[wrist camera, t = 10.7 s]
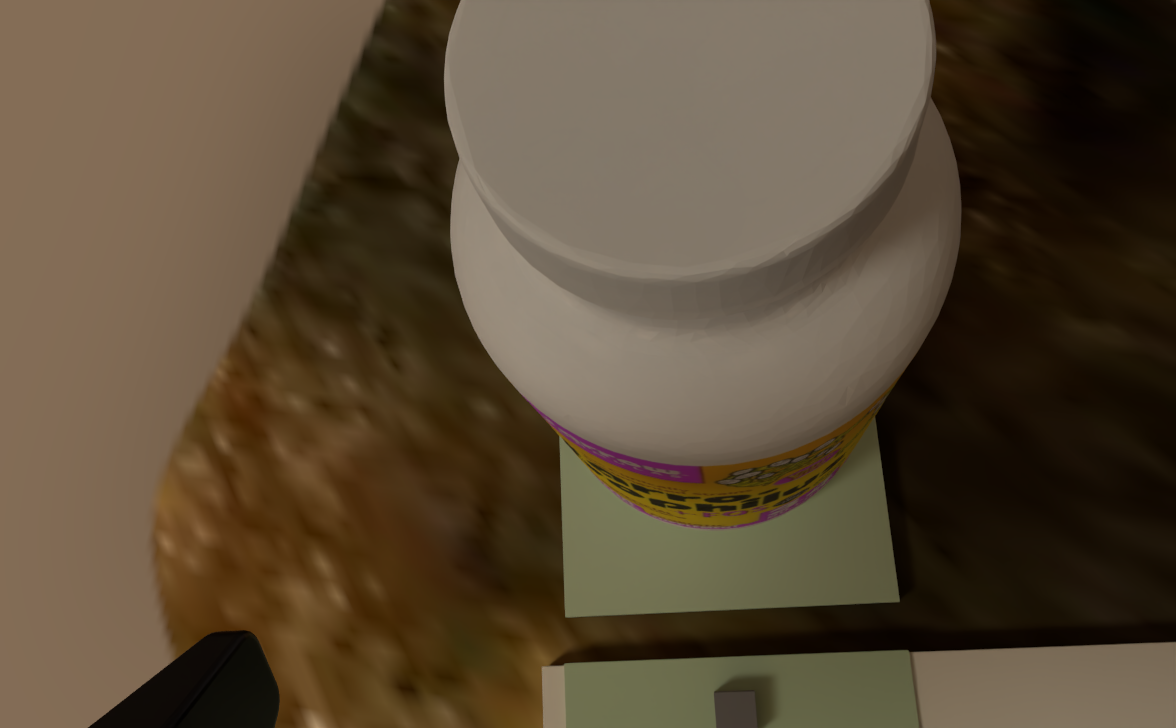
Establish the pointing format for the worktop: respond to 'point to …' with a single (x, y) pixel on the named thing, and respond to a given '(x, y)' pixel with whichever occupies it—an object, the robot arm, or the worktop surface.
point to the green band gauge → (797, 579)
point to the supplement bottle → (701, 231)
